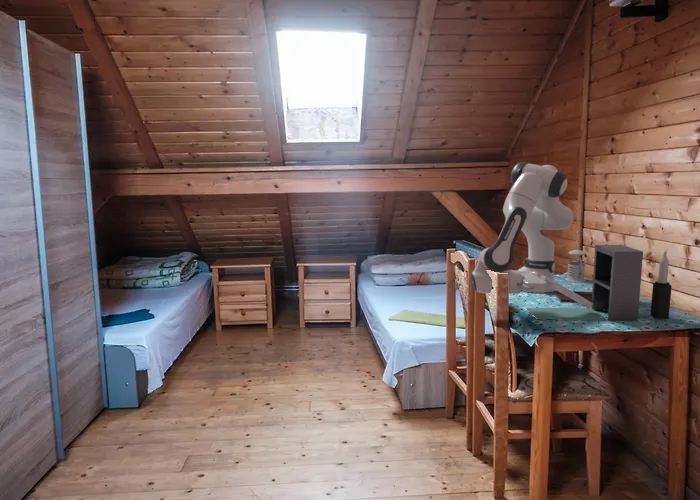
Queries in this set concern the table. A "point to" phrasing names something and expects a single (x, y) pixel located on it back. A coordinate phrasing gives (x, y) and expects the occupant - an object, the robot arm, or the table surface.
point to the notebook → (566, 299)
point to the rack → (617, 281)
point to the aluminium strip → (568, 293)
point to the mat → (566, 313)
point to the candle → (661, 292)
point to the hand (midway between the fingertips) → (551, 281)
